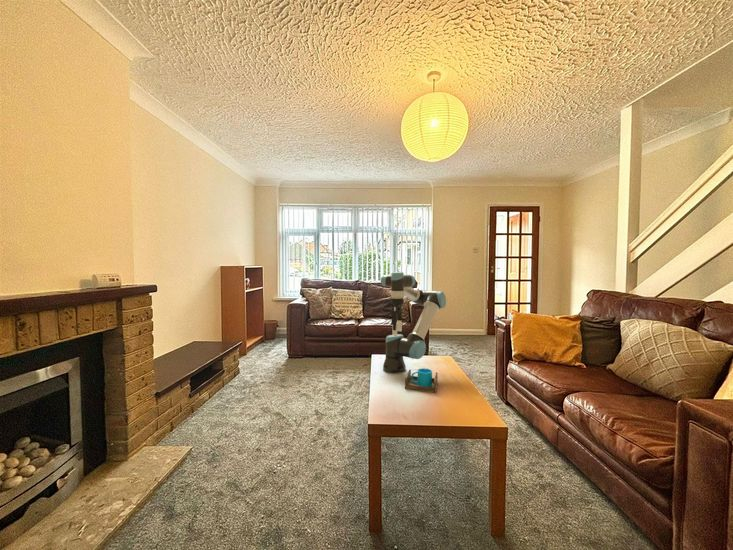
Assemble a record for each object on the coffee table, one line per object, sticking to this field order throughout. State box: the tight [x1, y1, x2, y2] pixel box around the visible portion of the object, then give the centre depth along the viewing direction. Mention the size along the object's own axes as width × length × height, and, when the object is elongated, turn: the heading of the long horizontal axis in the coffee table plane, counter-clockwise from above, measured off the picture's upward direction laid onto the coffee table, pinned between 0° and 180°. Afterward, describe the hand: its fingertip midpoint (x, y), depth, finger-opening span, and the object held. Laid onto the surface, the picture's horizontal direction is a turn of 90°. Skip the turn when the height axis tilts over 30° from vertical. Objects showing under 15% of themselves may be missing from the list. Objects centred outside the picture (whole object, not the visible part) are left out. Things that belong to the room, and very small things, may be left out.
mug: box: [411, 368, 433, 387], centre depth 171 cm, size 12×8×8 cm
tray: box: [404, 369, 438, 393], centre depth 171 cm, size 15×17×6 cm
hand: (397, 333), depth 177 cm, fingers open, 13 cm apart
